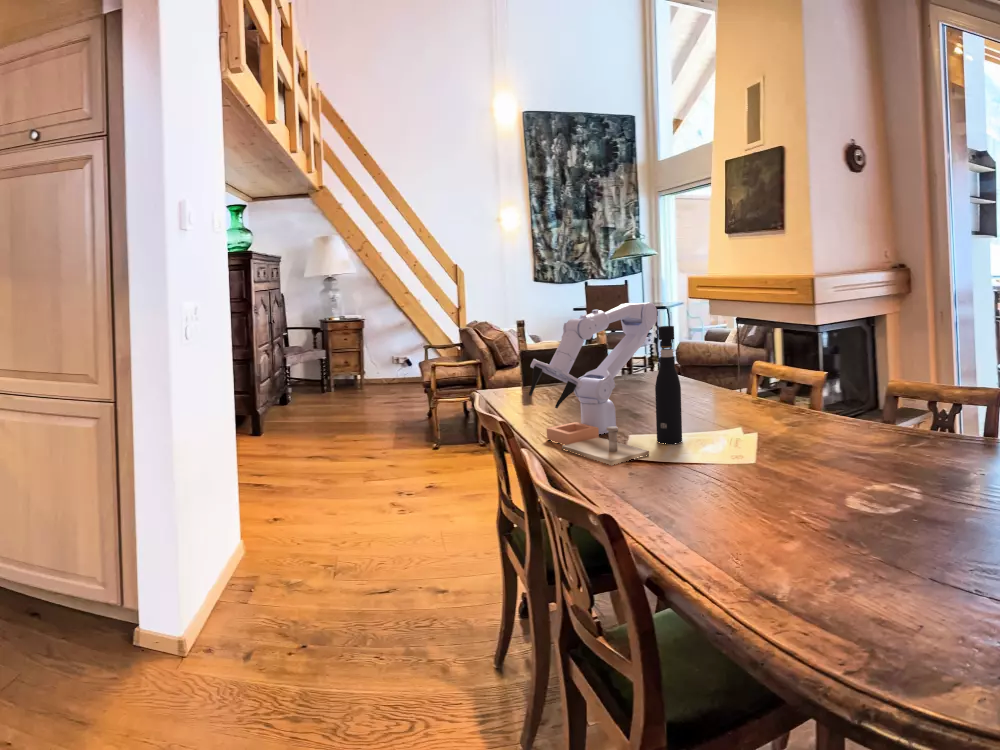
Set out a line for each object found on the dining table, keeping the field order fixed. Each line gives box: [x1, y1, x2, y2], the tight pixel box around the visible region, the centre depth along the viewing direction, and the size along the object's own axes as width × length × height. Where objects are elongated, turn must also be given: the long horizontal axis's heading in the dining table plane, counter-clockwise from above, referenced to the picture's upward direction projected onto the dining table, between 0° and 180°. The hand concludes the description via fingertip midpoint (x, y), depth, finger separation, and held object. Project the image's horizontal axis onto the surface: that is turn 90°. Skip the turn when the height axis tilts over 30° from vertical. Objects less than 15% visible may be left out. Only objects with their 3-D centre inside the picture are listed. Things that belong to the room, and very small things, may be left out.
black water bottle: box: [654, 325, 683, 445], centre depth 163 cm, size 6×6×30 cm
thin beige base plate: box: [561, 426, 650, 466], centre depth 158 cm, size 12×19×7 cm, turn 30°
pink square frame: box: [546, 421, 600, 445], centre depth 173 cm, size 10×10×4 cm
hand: (543, 400), depth 168 cm, fingers open, 7 cm apart
